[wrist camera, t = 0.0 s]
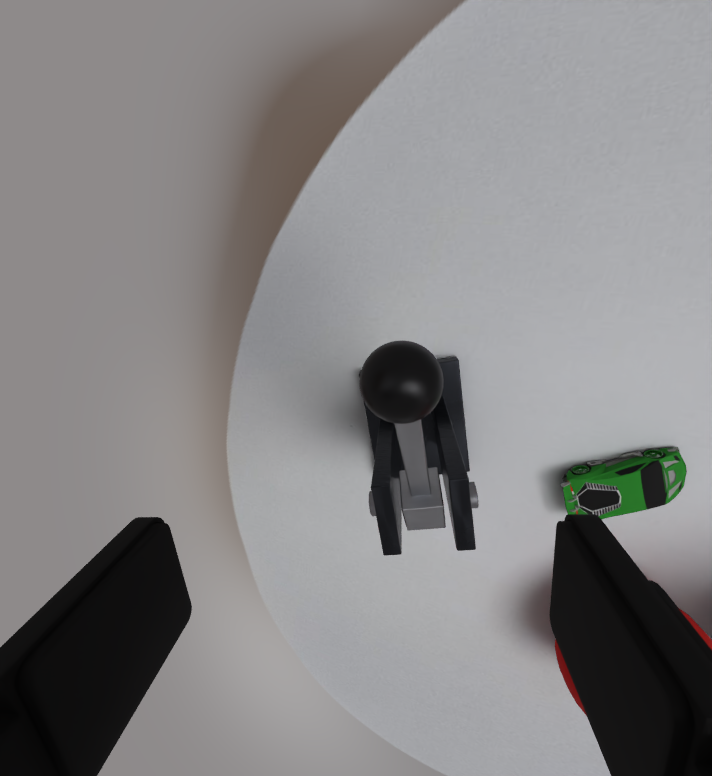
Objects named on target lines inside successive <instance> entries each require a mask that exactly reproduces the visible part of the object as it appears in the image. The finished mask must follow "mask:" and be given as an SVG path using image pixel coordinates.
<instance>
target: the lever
mask: <svg viewBox="0 0 712 776" xmlns="http://www.w3.org/2000/svg"><path fill="white" fill-rule="evenodd" d="M360 391H361V395H362V397H363V400H364V402H365V404H366V405H367V407H368V408H369V409H370V410H371V411H372V412H373V413H374V414H375V415H376V416H378V417H379V418H381V419H383V420H385V421H387V422H391V423H394V424H395V428H396V432H397V437H398V441H399V446H400V450H401V454H402V459H403V463H404V468H405V470H402V471H399V479H400V493H401V506H402V512H403V516H404V519H405V523H406V527H407V530H420V529H434V528H445V527H446V526H445V516H444V505H443V499H442V492H441V486H440V479H439V472H438V468H437V467H433V468H428V466H427V459H426V452H425V445H424V438H423V431H422V424H421V419H422V418H424V417H425V416H427V415H428V414H429V413H430V412H431V411H432V410H433V409H434V408H435V407H436V405H437V404H438V402H439V400H440V398H441V395H442V391H443V373H442V370H441V367H440V365H439V363H438V361H437V359H436V358H435V357H434V355H433V354H432V353H431V352H430V351H429V350H427V349H426V348H425V347H423V346H421V345H419V344H417V343H414V342H410V341H394V342H390V343H386V344H384V345H382V346H380V347H379V348H377V349H376V350H375V351H373V352H372V353H371V354H370V356H369V357H368V358H367V360H366V361H365V363H364V365H363V367H362V370H361V374H360Z"/></svg>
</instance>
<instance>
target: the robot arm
mask: <svg viewBox="0 0 712 776" xmlns="http://www.w3.org/2000/svg"><path fill="white" fill-rule="evenodd" d="M191 608H192V606H191V601H190V598H189V594H188V591H187V587H186V584H185V580H184V577H183V574H182V569H181V566H180V562H179V559H178V555H177V552H176V548H175V544H174V541H173V538H172V534H171V530H170V527H169V525H168V524H166V523H164V521H163V520H162V519H161V518H158V517H139V518H135V519H134V520H132V521H131V522H130V523H129V524H128V525H127V526H126V527H125V528H124V529H123V530H122V531H121V532H120V533H119V534H118V535H117V536H116V537H114V538H113V539H112V540H111V541H110V542H109V543H108V544H107V545H106V546H105V547H104V548H103V549H102V550H101V551H100V552H99V553H98V554H97V555H96V556H95V557H94V558H93V559H92V560H91V561H90V562H89V563H88V564H86V565H85V566H84V567H83V568H82V569H81V571H79V572H78V573H77V574H76V575H75V576H74V577H73V578H72V579H71V580H70V581H69V582H68V583H67V584H66V585H65V586H64V587H63V588H62V589H61V590H60V591H58V592H57V593H56V594H55V595H54V596H53V597H52V598H51V599H50V600H49V601H48V602H47V603H46V604H45V605H44V606H43V607H42V608H41V609H40V610H39V611H38V612H37V613H36V614H35V615H34V616H33V617H32V618H30V620H28V621H27V622H26V623H25V624H24V625H23V626H22V627H21V628H20V629H19V630H18V631H17V632H16V633H15V634H14V635H13V636H12V637H11V638H10V639H9V640H8V641H7V642H6V643H4V645H2V647H0V776H97V775H98V773H99V771H100V770H101V768H102V766H103V765H104V763H105V761H106V760H107V758H108V756H109V755H110V753H111V751H112V750H113V748H114V746H115V744H116V743H117V741H118V739H119V738H120V736H121V734H122V733H123V731H124V729H125V727H126V726H127V724H128V722H129V721H130V719H131V717H132V716H133V714H134V712H135V711H136V709H137V707H138V705H139V704H140V702H141V700H142V699H143V697H144V695H145V694H146V692H147V690H148V689H149V687H150V685H151V684H152V682H153V680H154V679H155V677H156V675H157V673H158V672H159V670H160V668H161V667H162V665H163V663H164V662H165V660H166V658H167V656H168V655H169V653H170V651H171V650H172V648H173V646H174V645H175V643H176V641H177V640H178V638H179V636H180V634H181V633H182V631H183V629H184V628H185V626H186V624H187V623H188V621H189V619H190V615H191ZM550 623H551V627H552V631H553V634H554V636H555V639H556V641H557V644H558V646H559V649H560V651H561V653H562V656H563V658H564V661H565V663H566V666H567V668H568V671H569V673H570V676H571V678H572V680H573V683H574V685H575V688H576V690H577V693H578V695H579V698H580V700H581V702H582V705H583V707H584V710H585V712H586V715H587V717H588V720H589V722H590V725H591V727H592V729H593V732H594V734H595V737H596V739H597V742H598V744H599V747H600V749H601V752H602V754H603V756H604V759H605V761H606V764H607V766H608V769H609V771H610V774H611V776H712V650H711V648H710V647H709V646H708V645H707V643H706V642H705V641H704V640H703V638H702V637H701V636H700V635H699V633H698V632H697V631H696V630H695V628H694V627H693V626H692V625H691V623H690V622H689V621H688V620H687V618H686V617H685V616H684V615H683V613H682V612H681V611H680V610H679V608H678V607H677V606H676V605H675V603H674V602H673V601H672V600H671V598H670V597H669V596H668V594H667V593H666V592H665V591H664V590H663V589H662V588H661V587H660V586H659V585H658V584H657V583H655V582H653V581H648V580H647V578H646V577H645V576H644V574H643V573H642V572H641V571H640V569H639V568H638V567H637V565H636V564H635V563H634V561H633V560H632V559H631V558H630V556H629V555H628V554H627V552H626V551H625V550H624V549H623V547H622V546H621V545H620V543H619V542H618V541H617V539H616V538H615V537H614V536H613V534H612V533H611V532H610V530H609V529H608V528H607V526H606V525H605V524H604V523H603V521H602V520H601V519H600V518H599V517H598V516H597V515H595V514H568V515H566V517H565V521H559V522H558V523H557V528H556V540H555V553H554V565H553V578H552V590H551V603H550Z"/></svg>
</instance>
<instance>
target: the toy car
mask: <svg viewBox="0 0 712 776" xmlns="http://www.w3.org/2000/svg"><path fill="white" fill-rule="evenodd" d="M620 457H623V458H618V459H614V460H609V461H606V460H599V461H592V462H587V466H584V465H578V466H575V467H573V468H572V469H571V471H570V470H569V471H568V473H566V474H565V475H564V477H563V479H564V480H563V481H564V482H565V483H561V487H563V492H564V499H565V505H566V509H567V512H568V514H595V515H597V516H598V517H599V518H600V519H604V518H608V517H612V516H618V515H623V514H628V513H633V512H637V511H642V510H646V509H650V508H654V507H658V506H661V505H665V504H667V503H669V502H670V501H671V500H672V499H674V498H675V497H676V496H677V494H678V493H679V492H680V491H681V489H682V488H683V486H684V482H685V476H686V465H685V463H684V461H683V459H682V457H681V455H680V453H679V450H678V447H675V448H661V449H659V450H654V449H653V450H647V451H645V452H644V453H643V454H641V453H640V452H639V451H637V452H632V453H628V454H624V455H622V456H620ZM571 472H572V473H571Z"/></svg>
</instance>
